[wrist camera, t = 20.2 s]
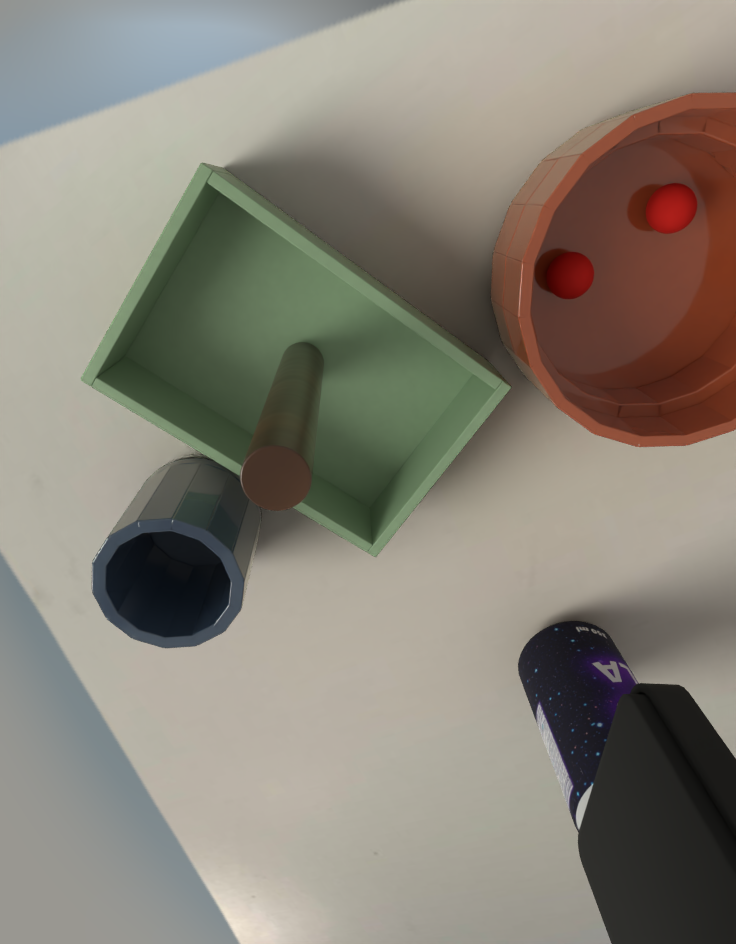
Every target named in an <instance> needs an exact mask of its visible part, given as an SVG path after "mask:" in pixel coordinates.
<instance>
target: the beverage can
mask: <svg viewBox="0 0 736 944" xmlns="http://www.w3.org/2000/svg"><path fill="white" fill-rule="evenodd" d="M518 671H519V676H520V679H521V681H522V684H523V687H524V689H525V692H526V695H527V697H528V700H529V703H530V706H531V708H532V711H533V714H534V716H535V719H536V722H537V724H538V727H539V730H540V732H541V735H542V738H543V741H544V743H545V746H546V749H547V751H548V754H549V757H550V759H551V762H552V765H553V768H554V770H555V773H556V776H557V778H558V781H559V784H560V786H561V789H562V792H563V794H564V797H565V800H566V803H567V805H568V808H569V811H570V813H571V816H572V819H573V821H574V824H575V827H576V829H577V830H578V832H579V829H580V826H581V822H582V819H583V816H584V813H585V809H586V806H587V803H588V799H589V796H590V793H591V790H592V786H593V783H594V780H595V777H596V773H597V770H598V767H599V763H600V760H601V757H602V754H603V750H604V747H605V744H606V741H607V737H608V734H609V731H610V727H611V724H612V721H613V718H614V714H615V711H616V708H617V704H618V701H619V699H620V697H621V696H622V695H623V694H630V692H631V690H632V688H633V687H634V686H635V685H636V684H639V683H638V682H637V680H636V678H635V677H634V675H633V674H632V672H631V670H630V669H629V667H628V665H627V664H626V662H625V660H624V659H623V657H622V655H621V654H620V652H619V651H618V649H617V647H616V646H615V644H614V642H613V641H612V639H611V638H610V636H609V635H608V634H607V633H606V632H605V631H604V630H602V629H601V628H599V627H597V626H595V625H593V624H590V623H586V622H580V621H569V622H562V623H558V624H555V625H552V626H549V627H547V628H545V629H543V630H542V631H540V632H539V633H537V634H536V635H535V636H534V637H532V638H531V639H530V640H529V642H528V643H527V644H526V645H525V647H524V649H523V650H522V653H521V655H520V658H519V663H518Z"/></svg>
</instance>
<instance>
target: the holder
mask: <svg viewBox="0 0 736 944" xmlns="http://www.w3.org/2000/svg"><path fill="white" fill-rule="evenodd" d="M260 526H261V509H260V506H258V505H256V504H255V503H253V502H252V501H251V500H250V499H249V498H248V497H247V496H246V494H245V493H244V491H243V489H242V486H241V482H240V476H239V475H237V474H236V473H234V472H232V471H231V470H229V469H227V468H226V467H224V466H222V465H221V464H219V463H217V462H216V461H213V460H209V459H202V458H188V459H181V460H177V461H174V462H171V463H169V464H166V465H165V466H163V467H161V468H160V469H158V470H157V471H156V472H154V473H153V474H152V475H151V476H150V477H149V478H148V479H147V480H146V482H145V483H144V485H143V486H142V488H141V489H140V490H139V492H138V493H137V495H136V496H135V498H134V499H133V501H132V502H131V504H130V505H129V506H128V508H127V509H126V511H125V512H124V514H123V515H122V517H121V518H120V520H119V521H118V522H117V524H116V525H115V527H114V528H113V530H112V531H111V533H110V534H109V536H108V537H107V539H106V540H105V542H104V543H103V545H102V546H101V548H100V550H99V551H98V553H97V554H96V556H95V558H94V559H93V562H92V593H93V595H94V597H95V599H96V600H97V602H98V604H99V606H100V608H101V610H102V612H103V613H104V615H105V617H106V618H107V620H109V621H110V622H111V623H112V624H114V625H115V626H116V627H118V628H119V629H120V630H122V631H123V632H124V633H125V634H127V635H128V636H129V637H131V638H133V639H135V640H138V641H141V642H145V643H148V644H152V645H155V646H158V647H162V648H177V647H191V646H197V645H200V644H202V643H204V642H206V641H208V640H210V639H212V638H214V637H216V636H218V635H220V634H222V633H223V632H225V631H226V629H227V628H228V627H229V625H230V624H231V623H232V621H233V620H234V619H235V617H236V616H237V615H238V613H239V612H240V611H241V608H242V605H243V601H244V597H245V593H246V589H247V584H248V580H249V576H250V572H251V568H252V564H253V560H254V556H255V552H256V547H257V543H258V537H259V531H260Z"/></svg>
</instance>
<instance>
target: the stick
mask: <svg viewBox="0 0 736 944" xmlns="http://www.w3.org/2000/svg"><path fill="white" fill-rule="evenodd" d="M323 369H324V359H323V356H322V354H321V352H320V351H319V349H318V348H317V347H315V346H314V345H312V344H310V343H306V342H298V343H295V344H293V345H291V346H289V347H288V348H287V349H286V351H285V352H284V354H283V356H282V359H281V362H280V364H279V367H278V370H277V373H276V375H275V378H274V381H273V383H272V386H271V389H270V391H269V394H268V397H267V400H266V402H265V405H264V408H263V410H262V413H261V416H260V418H259V421H258V424H257V427H256V429H255V432H254V435H253V437H252V440H251V443H250V445H249V448H248V451H247V454H246V456H245V459H244V462H243V464H242V467H241V471H240V482H241V486H242V489H243V491H244V493H245V494H246V496H247V497H248V498H249V499H250V500H251V501H252V502H253V503H255V504H256V505H258V506H260V507H262V508H264V509H268V510H273V511H281V510H286V509H290V508H292V507H294V506H296V505H298V504H299V503H300V502H302V501H303V500H304V498H305V497H306V496H307V494H308V493H309V490H310V487H311V483H312V473H313V464H314V455H315V445H316V436H317V426H318V417H319V407H320V398H321V388H322V379H323Z"/></svg>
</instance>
